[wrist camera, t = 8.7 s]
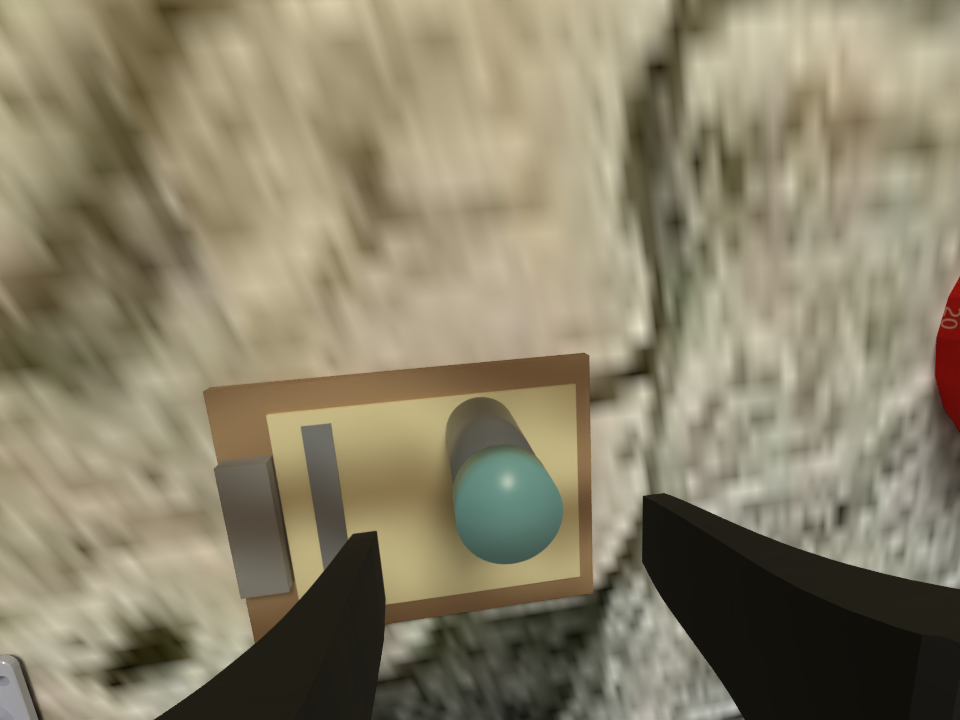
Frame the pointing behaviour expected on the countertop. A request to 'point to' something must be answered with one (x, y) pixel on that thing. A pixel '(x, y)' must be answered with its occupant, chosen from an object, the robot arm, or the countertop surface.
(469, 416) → the marker
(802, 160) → the countertop surface
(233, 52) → the countertop surface
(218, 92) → the countertop surface
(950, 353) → the kitchen timer
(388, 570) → the clipboard
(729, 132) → the countertop surface
